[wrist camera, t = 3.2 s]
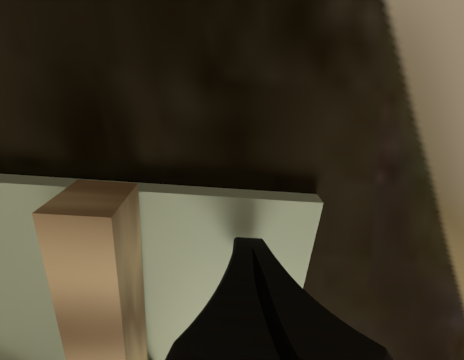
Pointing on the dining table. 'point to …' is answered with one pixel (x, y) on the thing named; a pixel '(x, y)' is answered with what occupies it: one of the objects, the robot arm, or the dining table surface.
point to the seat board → (147, 255)
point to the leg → (95, 269)
